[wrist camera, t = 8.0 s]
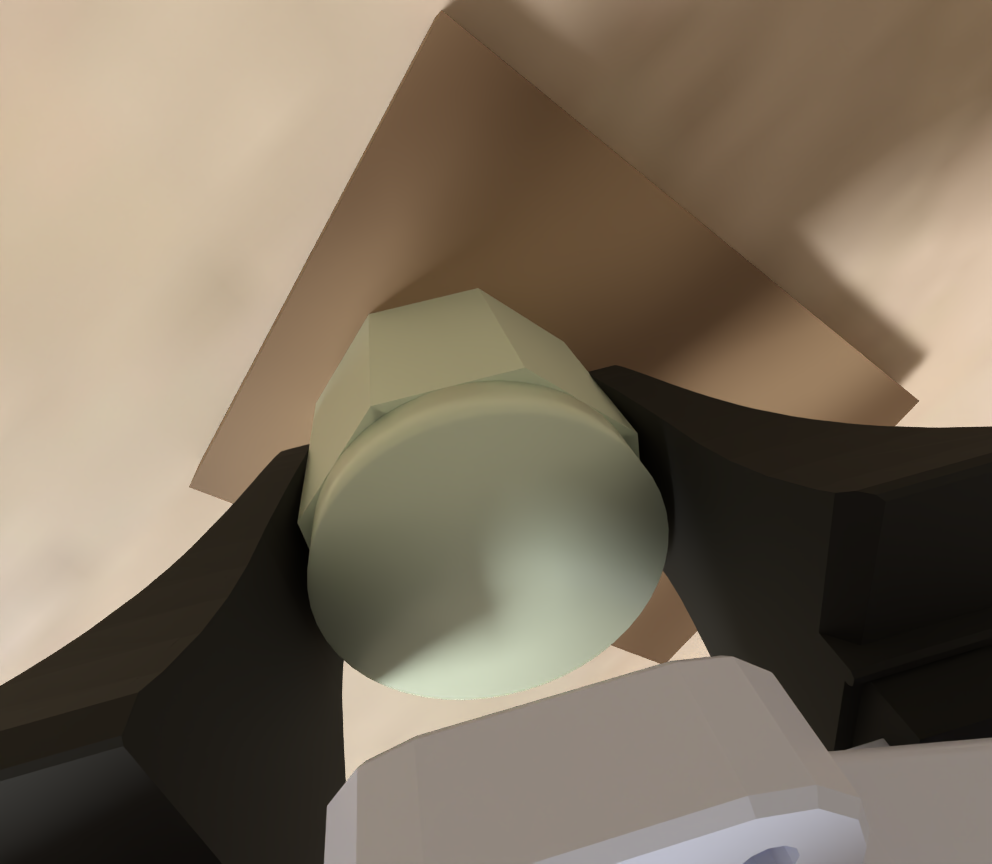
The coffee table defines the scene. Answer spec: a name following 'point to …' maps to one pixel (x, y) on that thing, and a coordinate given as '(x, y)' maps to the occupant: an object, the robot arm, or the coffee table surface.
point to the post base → (535, 277)
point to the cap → (473, 505)
